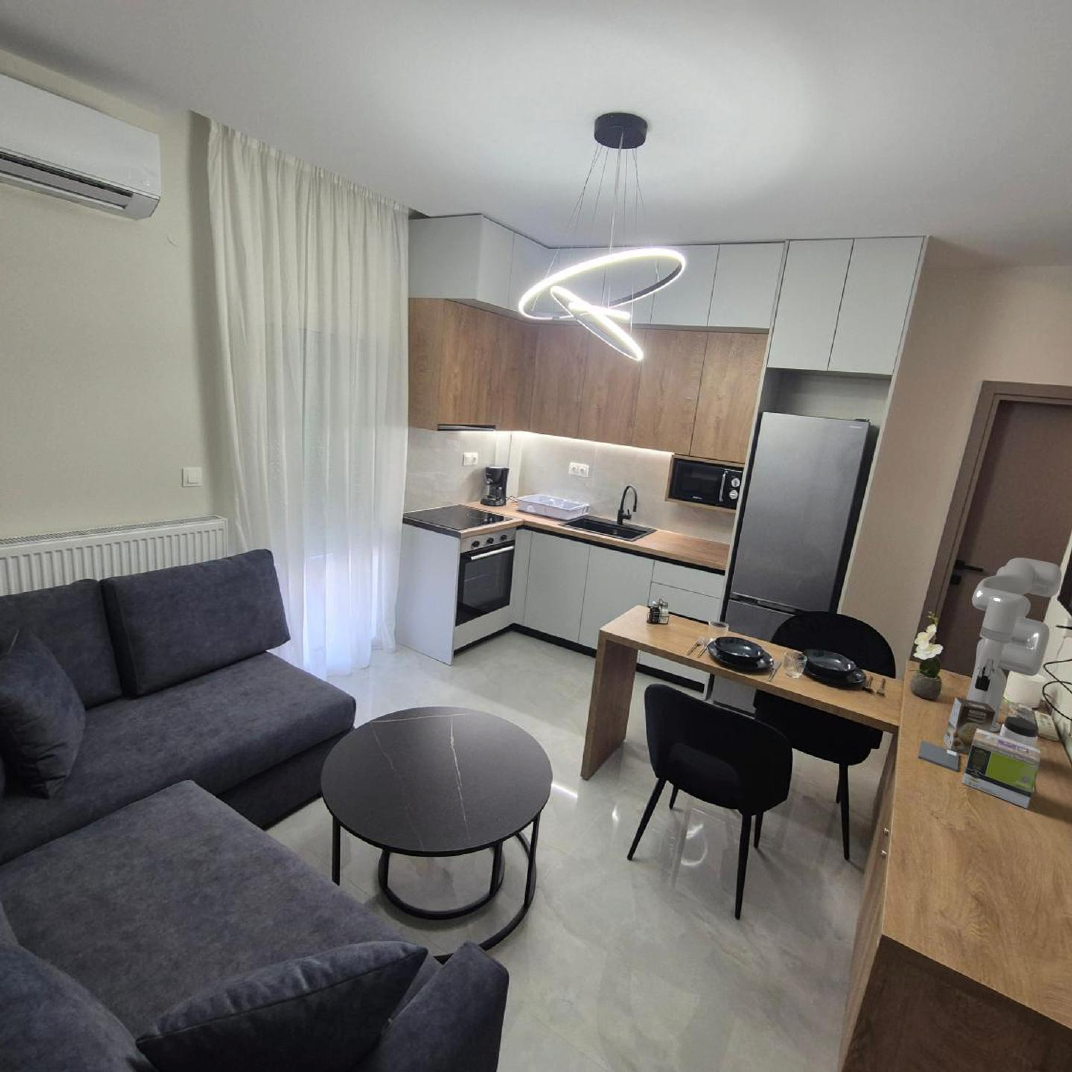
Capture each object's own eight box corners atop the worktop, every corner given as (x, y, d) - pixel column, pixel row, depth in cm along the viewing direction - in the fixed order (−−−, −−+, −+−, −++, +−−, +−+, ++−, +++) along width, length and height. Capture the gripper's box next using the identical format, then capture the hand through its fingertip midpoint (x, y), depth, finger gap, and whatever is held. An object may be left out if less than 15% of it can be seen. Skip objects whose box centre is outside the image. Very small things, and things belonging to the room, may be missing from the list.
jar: (1033, 759, 183) (1043, 725, 180) (1027, 767, 178) (1037, 733, 175) (998, 745, 190) (1007, 713, 187) (992, 753, 184) (1001, 720, 182)
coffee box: (949, 750, 184) (961, 705, 181) (942, 740, 190) (954, 696, 187) (983, 757, 181) (995, 712, 178) (975, 747, 187) (987, 702, 184)
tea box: (1029, 794, 164) (1043, 748, 161) (1027, 810, 157) (1041, 762, 153) (965, 769, 174) (977, 726, 171) (960, 783, 166) (973, 738, 163)
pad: (921, 742, 187) (921, 740, 187) (958, 755, 182) (958, 752, 181) (918, 757, 178) (918, 755, 178) (957, 771, 172) (957, 769, 172)
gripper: (980, 625, 185) (966, 677, 189) (981, 637, 173) (966, 692, 177) (1009, 632, 181) (994, 685, 185) (1012, 644, 169) (997, 701, 173)
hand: (980, 689), depth 181 cm, fingers closed
